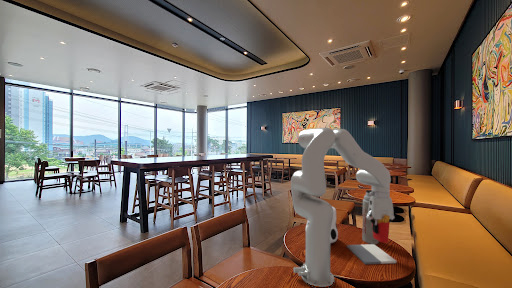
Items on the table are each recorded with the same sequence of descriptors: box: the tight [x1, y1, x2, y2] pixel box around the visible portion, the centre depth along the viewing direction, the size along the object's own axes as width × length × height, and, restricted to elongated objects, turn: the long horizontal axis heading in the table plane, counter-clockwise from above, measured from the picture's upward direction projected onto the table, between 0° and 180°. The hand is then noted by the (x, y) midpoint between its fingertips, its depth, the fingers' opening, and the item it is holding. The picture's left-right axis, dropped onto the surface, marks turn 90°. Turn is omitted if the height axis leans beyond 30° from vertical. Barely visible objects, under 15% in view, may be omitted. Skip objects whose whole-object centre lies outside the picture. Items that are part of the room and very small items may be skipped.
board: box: [346, 243, 397, 265], centre depth 103 cm, size 15×16×1 cm
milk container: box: [305, 206, 339, 245], centre depth 118 cm, size 17×17×18 cm
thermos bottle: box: [361, 189, 380, 245], centre depth 118 cm, size 8×8×28 cm
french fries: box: [372, 215, 390, 244], centre depth 101 cm, size 9×4×13 cm, turn 13°
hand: (380, 232), depth 101 cm, fingers closed on french fries, 4 cm apart
